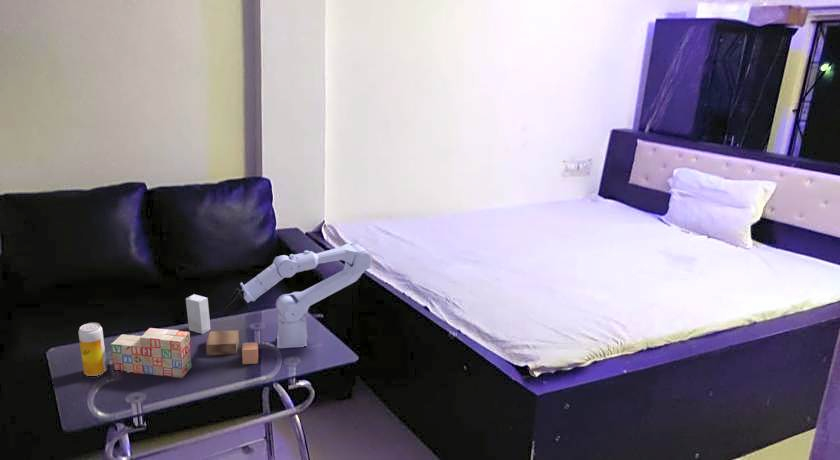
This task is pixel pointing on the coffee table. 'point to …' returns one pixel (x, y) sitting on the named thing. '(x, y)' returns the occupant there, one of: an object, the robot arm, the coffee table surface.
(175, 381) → the coffee table surface
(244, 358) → the terracotta cube
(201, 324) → the skincare box
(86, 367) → the beer can
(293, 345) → the robot arm
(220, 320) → the coffee table surface
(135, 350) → the stack of blocks
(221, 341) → the walnut block
